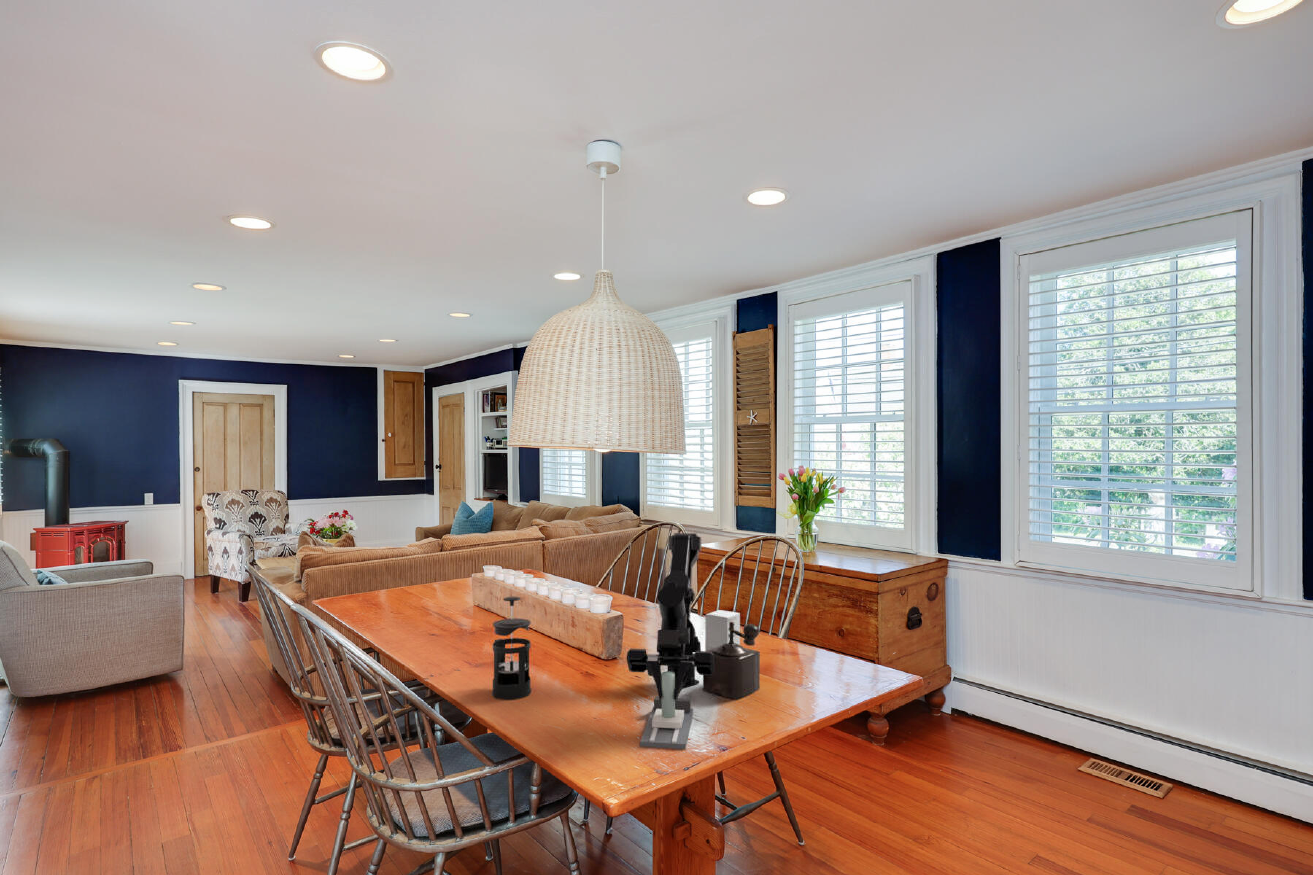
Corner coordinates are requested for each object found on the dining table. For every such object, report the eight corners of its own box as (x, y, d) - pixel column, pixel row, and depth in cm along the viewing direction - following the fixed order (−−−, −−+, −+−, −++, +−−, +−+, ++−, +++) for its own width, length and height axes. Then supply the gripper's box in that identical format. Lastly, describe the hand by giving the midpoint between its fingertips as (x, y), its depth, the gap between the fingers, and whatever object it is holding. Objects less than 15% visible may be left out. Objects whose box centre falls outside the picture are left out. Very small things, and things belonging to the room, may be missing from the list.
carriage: (656, 714, 150) (656, 667, 150) (684, 715, 149) (684, 668, 149) (651, 727, 143) (651, 678, 143) (681, 728, 142) (680, 679, 142)
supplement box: (727, 663, 190) (727, 617, 191) (704, 658, 195) (704, 613, 195) (740, 657, 196) (740, 612, 197) (718, 652, 201) (718, 608, 201)
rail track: (653, 710, 156) (653, 695, 156) (693, 712, 155) (693, 696, 155) (640, 746, 137) (640, 728, 137) (685, 749, 136) (685, 731, 136)
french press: (540, 693, 167) (540, 597, 168) (507, 703, 161) (507, 603, 161) (513, 682, 176) (513, 590, 176) (480, 691, 169) (480, 596, 169)
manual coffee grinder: (699, 691, 169) (699, 616, 169) (726, 679, 177) (726, 609, 178) (753, 706, 159) (753, 627, 159) (779, 693, 167) (778, 618, 167)
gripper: (627, 611, 152) (618, 678, 141) (713, 614, 149) (710, 682, 138) (633, 638, 159) (625, 703, 148) (715, 641, 157) (713, 708, 146)
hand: (667, 699), depth 145 cm, fingers closed on carriage, 3 cm apart
